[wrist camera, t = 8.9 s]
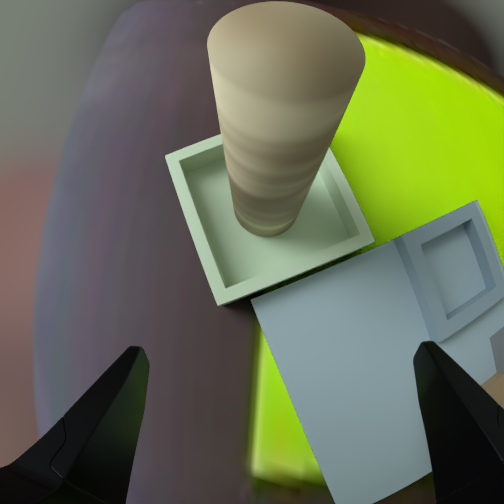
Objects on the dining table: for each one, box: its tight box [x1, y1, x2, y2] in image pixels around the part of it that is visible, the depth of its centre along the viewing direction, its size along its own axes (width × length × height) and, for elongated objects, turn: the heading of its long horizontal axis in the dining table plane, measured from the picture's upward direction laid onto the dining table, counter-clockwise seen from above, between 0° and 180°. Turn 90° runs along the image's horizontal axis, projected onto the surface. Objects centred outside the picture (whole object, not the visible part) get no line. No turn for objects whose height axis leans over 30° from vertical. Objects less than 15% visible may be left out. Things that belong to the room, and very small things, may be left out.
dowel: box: [207, 1, 365, 237], centre depth 13 cm, size 4×4×13 cm
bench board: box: [251, 200, 504, 504], centre depth 16 cm, size 18×17×4 cm
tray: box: [165, 134, 375, 306], centre depth 19 cm, size 9×9×2 cm
